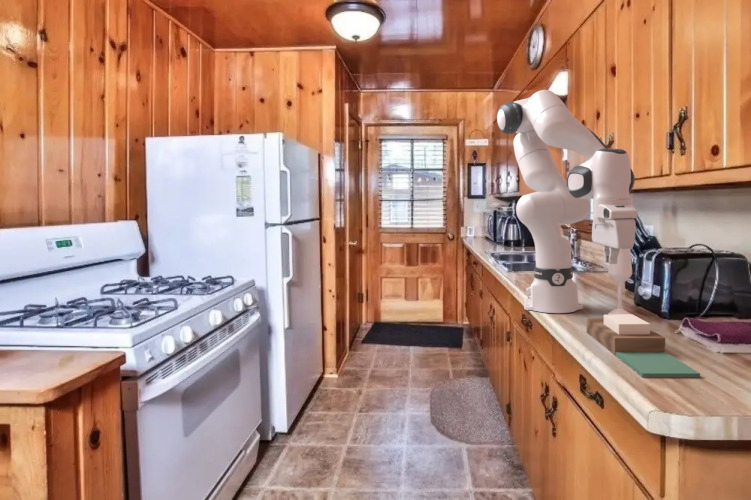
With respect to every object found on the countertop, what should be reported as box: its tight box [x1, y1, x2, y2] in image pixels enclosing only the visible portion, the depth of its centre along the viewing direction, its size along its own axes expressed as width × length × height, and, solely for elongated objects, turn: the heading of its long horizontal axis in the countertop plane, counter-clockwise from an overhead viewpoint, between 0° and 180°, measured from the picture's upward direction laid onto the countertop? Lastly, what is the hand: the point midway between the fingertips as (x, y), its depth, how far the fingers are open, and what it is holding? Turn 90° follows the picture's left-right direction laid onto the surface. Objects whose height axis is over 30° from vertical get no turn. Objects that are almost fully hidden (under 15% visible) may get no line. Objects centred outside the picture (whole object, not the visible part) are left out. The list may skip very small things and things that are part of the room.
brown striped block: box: [586, 317, 666, 356], centre depth 121 cm, size 20×11×4 cm, turn 174°
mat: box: [615, 351, 701, 378], centre depth 104 cm, size 14×11×1 cm
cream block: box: [603, 313, 651, 335], centre depth 119 cm, size 10×7×2 cm
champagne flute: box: [607, 249, 633, 315], centre depth 150 cm, size 7×7×24 cm
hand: (610, 263), depth 128 cm, fingers closed
